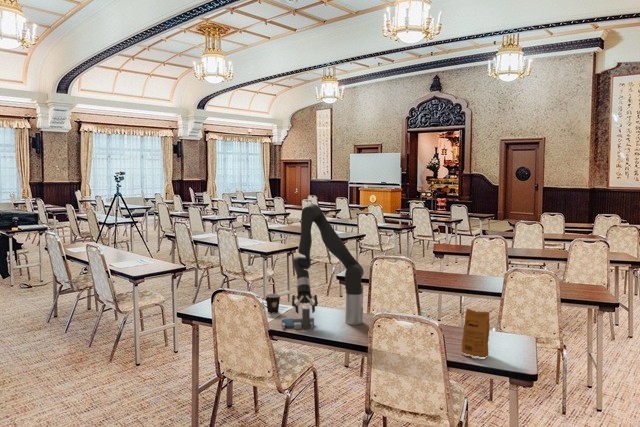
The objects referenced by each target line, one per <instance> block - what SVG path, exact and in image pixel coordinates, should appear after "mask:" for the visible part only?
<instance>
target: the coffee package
mask: <svg viewBox="0 0 640 427" xmlns="http://www.w3.org/2000/svg"><path fill="white" fill-rule="evenodd" d="M465 310H466V311H465V315H464V316H465V317H464V325H463V329H462V330H463V332H462V339H461V351H462V352H463V353H466V354H470V355H473V356H479V357H486V356H489V338H490V337H489V336H490V311H476V310H473V309H471V308H466V309H465Z"/></svg>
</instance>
